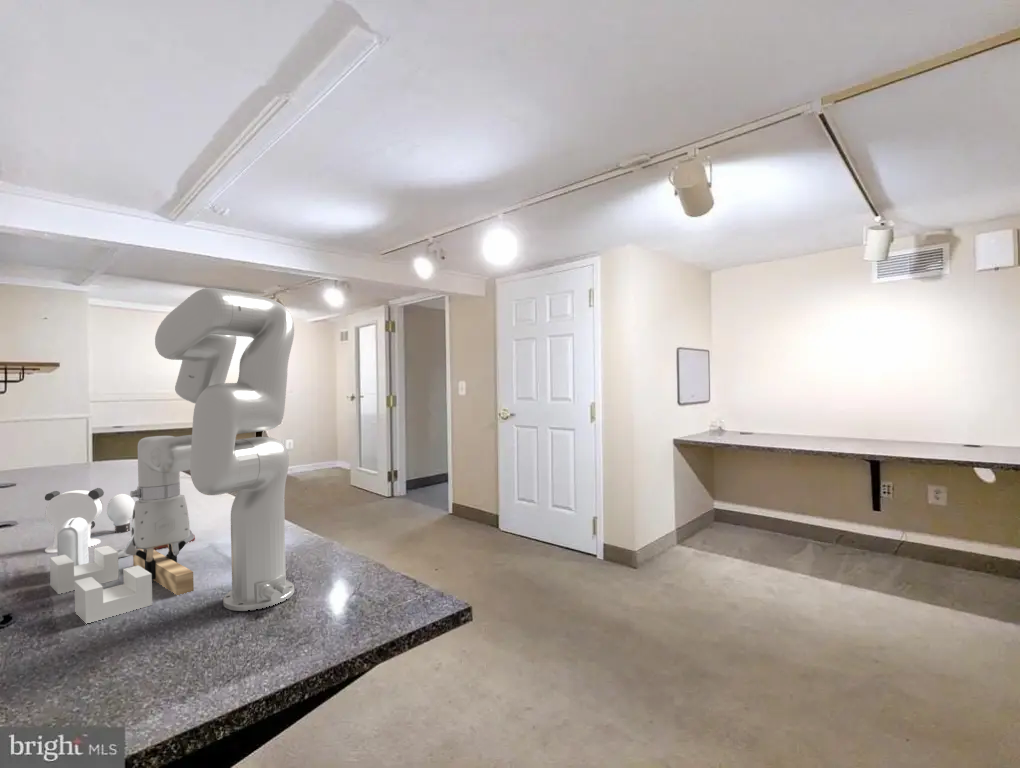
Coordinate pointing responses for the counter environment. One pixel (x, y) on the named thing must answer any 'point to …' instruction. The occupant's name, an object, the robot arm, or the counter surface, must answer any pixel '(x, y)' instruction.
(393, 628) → the counter surface
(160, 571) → the slat
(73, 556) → the photo printer
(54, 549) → the panda figurine
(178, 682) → the counter surface
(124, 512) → the light bulb
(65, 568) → the end caps
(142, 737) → the counter surface
